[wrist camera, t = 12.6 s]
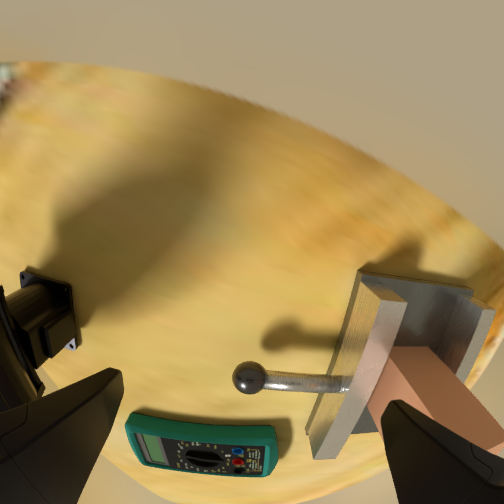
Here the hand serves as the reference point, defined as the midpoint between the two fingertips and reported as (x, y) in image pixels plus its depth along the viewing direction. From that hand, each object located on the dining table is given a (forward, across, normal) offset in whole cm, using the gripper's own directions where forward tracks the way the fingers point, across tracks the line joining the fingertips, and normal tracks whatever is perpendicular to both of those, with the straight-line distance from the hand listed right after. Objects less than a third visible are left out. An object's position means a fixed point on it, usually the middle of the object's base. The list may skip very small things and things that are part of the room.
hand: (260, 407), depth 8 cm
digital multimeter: (+13, +3, +18) cm, 22 cm away
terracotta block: (+11, -13, +6) cm, 18 cm away
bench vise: (+12, -9, +6) cm, 16 cm away
